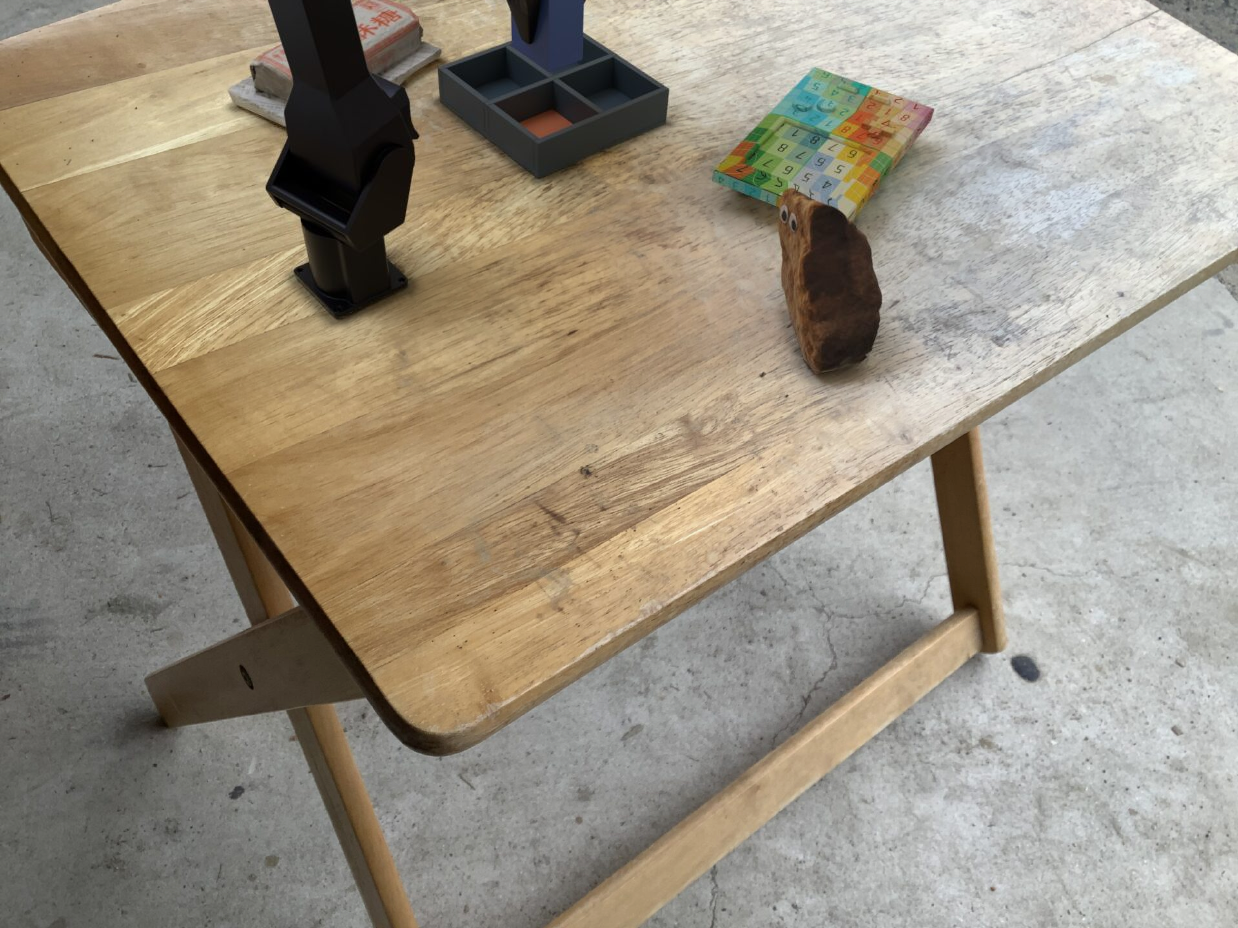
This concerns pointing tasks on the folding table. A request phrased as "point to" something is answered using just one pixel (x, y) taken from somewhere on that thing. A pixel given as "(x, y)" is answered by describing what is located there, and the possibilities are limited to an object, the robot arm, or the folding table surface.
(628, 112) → the organiser
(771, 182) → the puzzle game
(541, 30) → the carton
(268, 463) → the folding table surface
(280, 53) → the packaged product
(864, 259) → the decorative rock
